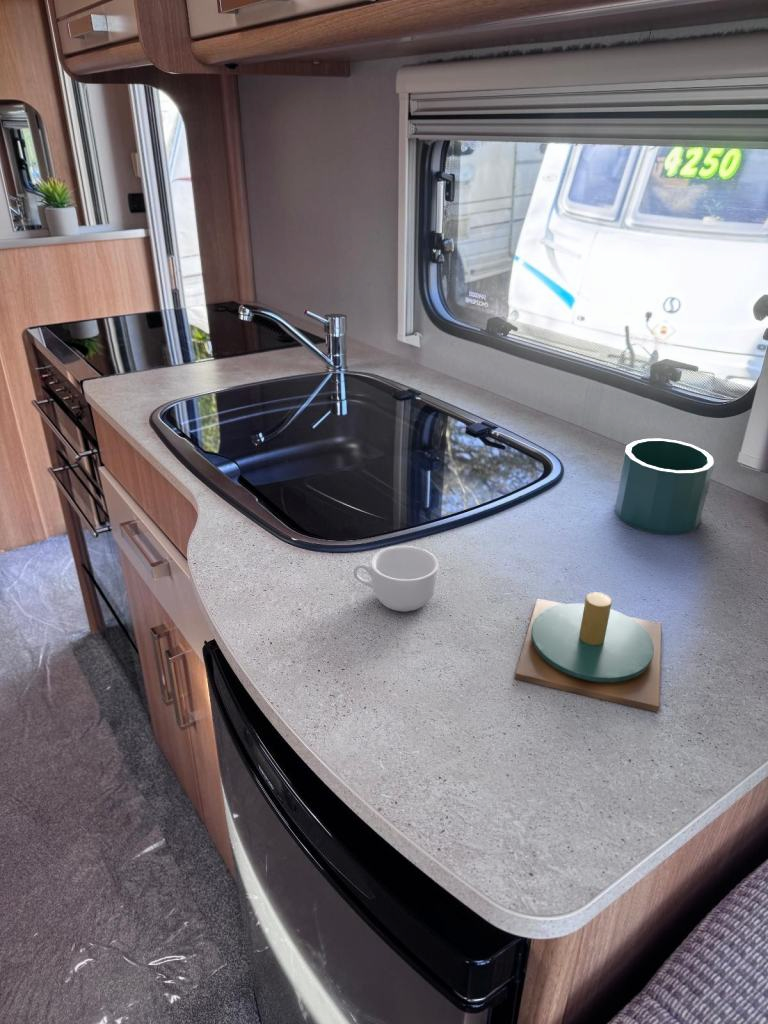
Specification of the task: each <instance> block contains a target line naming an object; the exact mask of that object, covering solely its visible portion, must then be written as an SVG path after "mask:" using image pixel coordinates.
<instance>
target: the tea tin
mask: <svg viewBox="0 0 768 1024" xmlns="http://www.w3.org/2000/svg"><path fill="white" fill-rule="evenodd" d="M714 468H715V461H714V457H713V456H712V455H711V454H709V452H708V451H706V450H704V449H703V448H701V447H698V446H696V445H694V444H691V443H687V442H683V441H679V440H675V439H674V440H673V439H668V438H667V439H666V438H643V439H640V440H639V439H637V440H634V441H632V442H630V443H629V444H627V445H626V446H625V450H624V456H623V461H622V467H621V473H620V478H619V484H618V488H617V494H616V498H615V499H616V501H615V505H614V511H615V514H616V516H617V517H618V518H619V519H620V520H621V521H622V522H624V523H625V524H626V525H628V526H629V527H632V528H635V529H637V530H640V531H643V532H647V533H650V534H657V535H666V536H667V535H668V536H670V535H671V536H672V535H673V536H675V535H683V534H687V533H690V532H692V531H694V530H696V529H697V528H698V526H699V524H700V522H701V519H702V515H703V510H704V507H705V502H706V500H707V499H706V498H707V496H708V495H707V494H708V491H709V486H710V483H711V478H712V475H713V470H714Z"/></svg>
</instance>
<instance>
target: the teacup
mask: <svg viewBox="0 0 768 1024" xmlns="http://www.w3.org/2000/svg"><path fill="white" fill-rule="evenodd" d="M439 565H440V564H439V560H438V558H437V557H436V556H435V554H433V553H432V552H430V551H428V550H426V549H424V548H421V547H419V546H411V545H392V546H389V547H385V548H382V549H380V550H378V551H377V552H375V553H374V554H373V555H372V557H371V559H370V564H369V563H365V562H361V563H358V564H356V565H355V567H354V569H353V577H354V578H355V579H356V581H357V582H359V583H361V584H362V585H365V586H367V587H369V588H371V589H372V590H373V592H374V595H375V597H376V598H377V599H378V601H379V602H380V603H381V604H382V605H383V606H384V607H386V608H388V609H390V610H393V611H396V612H401V613H402V612H403V613H406V612H413V611H417V610H420V609H421V608H422V607H424V606H426V605H427V604H428V603H429V602H430V601H431V599H432V597H433V595H434V592H435V588H436V584H437V577H438V572H439ZM359 569H364V570H365V571H366V572H367V573H368V575H369V577H370V580H368V579H365V578H363V577H361V576H360V575H359V573H358V570H359Z"/></svg>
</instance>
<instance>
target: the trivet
mask: <svg viewBox="0 0 768 1024" xmlns="http://www.w3.org/2000/svg"><path fill="white" fill-rule="evenodd" d="M534 603H535V604H534V607H533V610H532V614H531V617H530V621H529V624H528V628H527V630H526V634H525V637H524V641H523V644H522V648H521V652H520V656H519V659H518V663H517V666H516V669H515V673H514V680H517V681H521V682H526V683H530V684H534V685H539V686H543V687H547V688H551V689H556V690H560V691H565V692H569V693H573V694H576V695H581V696H585V697H589V698H590V697H591V698H594V699H598V700H603V701H608V702H611V703H616V704H619V705H624V706H629V707H633V708H637V709H641V710H647V711H650V712H654V713H659V710H660V706H661V704H660V702H661V669H662V668H661V667H662V665H661V662H662V624H663V623H662V622H658V621H652V620H648V619H644V618H638V617H633V616H629V617H630V618H632V619H633V620H634V621H636V622H637V623H638V624H639V625H641V626H642V627H643V628H644V629H645V631H646V632H647V633H648V635H649V636H650V638H651V640H652V643H653V647H654V653H653V658H652V661H651V664H650V665H649V667H648V668H647V669H646V670H645V671H644V672H643V673H641V674H640V675H638V676H636V677H634V678H631V679H628V680H624V681H618V682H596V681H590V680H584V679H581V678H577V677H574V676H571V675H569V674H566V673H564V672H562V671H560V670H558V669H557V668H555V667H553V666H552V665H551V664H549V663H548V662H547V661H546V660H544V659H543V658H542V657H541V655H540V654H539V653H538V652H537V650H536V649H535V647H534V645H533V642H532V637H531V632H532V626H533V623H534V621H535V620H536V618H537V617H538V616H539V615H540V614H541V613H542V612H544V611H545V610H547V609H549V608H551V607H554V606H557V605H561V604H564V603H563V602H558V601H553V600H547V599H542V598H538V597H537V598H536V600H535V602H534Z"/></svg>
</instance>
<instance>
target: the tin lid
mask: <svg viewBox="0 0 768 1024" xmlns="http://www.w3.org/2000/svg"><path fill="white" fill-rule="evenodd" d="M584 599H585V600H584V602H568V603H563V604H561V605H557V606H554V607H551V608H549V609H547V610H545V611H544V612H542V613H541V614H540V615H539V616H538V617H537V618H536V620H535V621H534V623H533V626H532V632H531V637H532V642H533V645H534V647H535V649H536V650H537V652H538V653H539V654H540V655H541V657H542V658H543V659H544V660H546V661H547V662H548V663H549V664H551V665H552V666H553V667H555V668H557V669H558V670H560V671H562V672H564V673H566V674H569V675H571V676H574V677H577V678H581V679H584V680H590V681H596V682H618V681H624V680H628V679H631V678H634V677H636V676H638V675H640V674H641V673H643V672H644V671H645V670H646V669H647V668H648V667H649V665H650V664H651V661H652V658H653V653H654V647H653V643H652V640H651V638H650V636H649V635H648V633H647V632H646V631H645V629H644V628H643V627H642V626H641V625H639V624H638V623H637V622H636V621H634V620H633V619H632V618H630V617H631V616H628V615H626V614H624V613H623V612H620V611H619V610H615V609H613V608H612V604H613V600H612V598H611V597H610V596H609V595H607V594H606V593H604V592H598V591H594V592H589V593H587V594H586V596H585V598H584Z"/></svg>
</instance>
